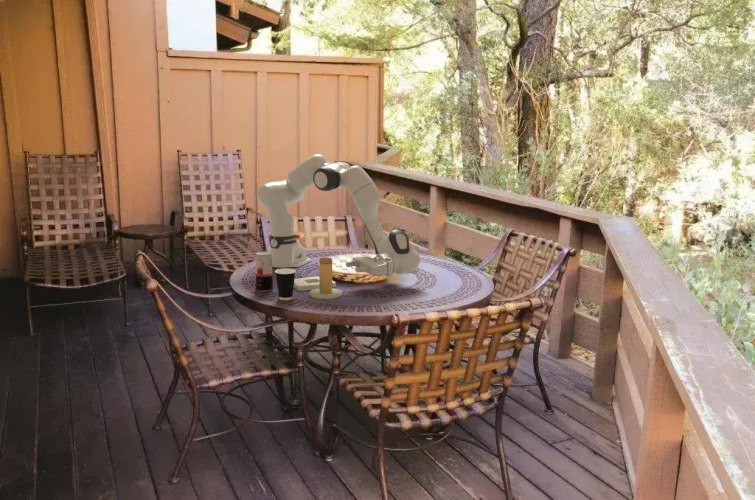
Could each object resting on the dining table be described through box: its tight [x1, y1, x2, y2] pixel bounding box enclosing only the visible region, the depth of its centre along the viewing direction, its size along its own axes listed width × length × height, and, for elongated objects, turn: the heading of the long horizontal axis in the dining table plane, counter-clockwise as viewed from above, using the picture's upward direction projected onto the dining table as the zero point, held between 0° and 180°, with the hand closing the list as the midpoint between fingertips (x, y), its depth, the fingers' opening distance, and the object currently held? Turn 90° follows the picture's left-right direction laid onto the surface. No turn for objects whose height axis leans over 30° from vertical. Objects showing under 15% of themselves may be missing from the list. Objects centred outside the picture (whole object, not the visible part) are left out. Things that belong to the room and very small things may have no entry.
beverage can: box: [255, 251, 274, 293], centre depth 268 cm, size 6×7×15 cm
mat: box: [308, 287, 343, 300], centre depth 263 cm, size 13×13×1 cm
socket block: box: [293, 273, 337, 292], centre depth 280 cm, size 16×20×2 cm
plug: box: [318, 257, 333, 294], centre depth 262 cm, size 5×5×14 cm
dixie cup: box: [274, 267, 297, 301], centre depth 256 cm, size 8×8×11 cm
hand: (351, 267), depth 266 cm, fingers open, 8 cm apart
